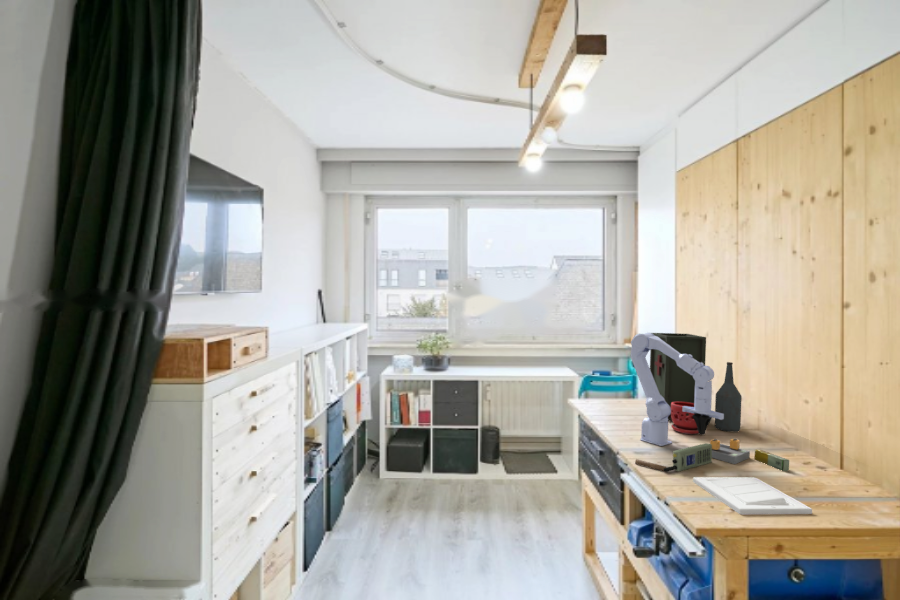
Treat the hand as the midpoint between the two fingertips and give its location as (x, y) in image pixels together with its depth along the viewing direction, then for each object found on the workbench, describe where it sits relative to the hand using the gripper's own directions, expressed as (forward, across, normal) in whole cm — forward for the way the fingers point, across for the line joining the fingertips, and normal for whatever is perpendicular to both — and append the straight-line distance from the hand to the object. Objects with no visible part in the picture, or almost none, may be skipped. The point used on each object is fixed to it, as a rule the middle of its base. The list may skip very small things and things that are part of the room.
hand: (701, 434), depth 183 cm
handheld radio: (+7, -5, +20) cm, 22 cm away
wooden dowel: (+7, +2, +30) cm, 31 cm away
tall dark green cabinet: (+7, +35, -44) cm, 57 cm away
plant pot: (+7, +18, -24) cm, 31 cm away
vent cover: (+8, -28, +28) cm, 41 cm away
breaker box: (+7, -7, -4) cm, 10 cm away
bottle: (+7, +10, -44) cm, 45 cm away
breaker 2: (+4, -9, -7) cm, 12 cm away
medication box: (+8, -20, -8) cm, 23 cm away
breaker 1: (+4, -5, 0) cm, 6 cm away
